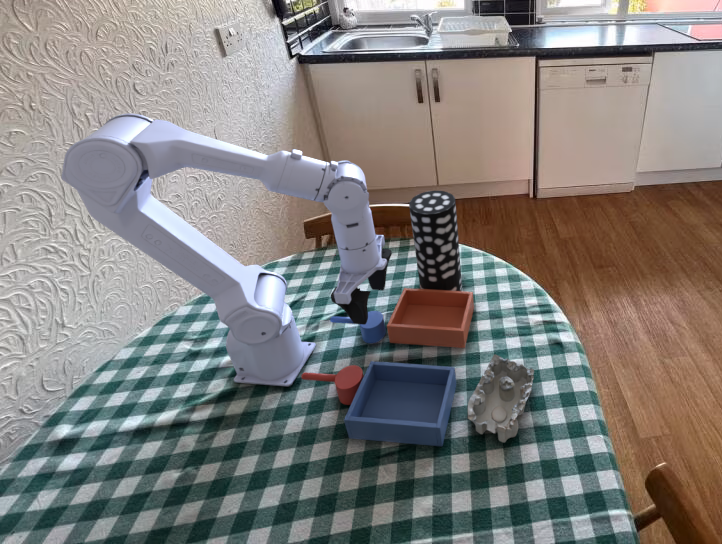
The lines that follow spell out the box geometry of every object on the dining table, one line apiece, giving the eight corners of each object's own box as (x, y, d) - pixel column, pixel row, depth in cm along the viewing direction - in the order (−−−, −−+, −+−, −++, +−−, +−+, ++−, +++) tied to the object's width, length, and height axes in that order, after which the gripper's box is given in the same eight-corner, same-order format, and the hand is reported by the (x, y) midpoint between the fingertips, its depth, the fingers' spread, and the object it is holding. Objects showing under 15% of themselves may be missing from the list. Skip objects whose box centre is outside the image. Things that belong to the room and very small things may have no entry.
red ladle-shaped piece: (299, 401, 62) (293, 385, 61) (312, 377, 66) (307, 361, 64) (360, 406, 61) (355, 390, 60) (370, 381, 65) (367, 365, 63)
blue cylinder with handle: (328, 340, 72) (324, 325, 70) (338, 322, 76) (335, 308, 74) (381, 344, 71) (377, 329, 70) (389, 326, 75) (386, 311, 73)
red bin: (389, 343, 72) (386, 326, 70) (406, 303, 80) (404, 287, 78) (464, 348, 70) (463, 331, 69) (474, 307, 79) (473, 291, 77)
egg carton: (512, 450, 56) (511, 431, 54) (463, 428, 58) (461, 409, 56) (538, 382, 64) (538, 364, 63) (494, 366, 67) (494, 348, 65)
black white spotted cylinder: (428, 271, 88) (418, 189, 79) (466, 274, 87) (460, 191, 78) (414, 299, 81) (402, 212, 72) (456, 303, 79) (448, 215, 71)
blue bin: (348, 438, 57) (343, 420, 55) (374, 378, 65) (370, 360, 64) (442, 446, 56) (440, 428, 54) (456, 384, 64) (454, 366, 63)
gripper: (361, 271, 57) (376, 341, 63) (397, 214, 70) (406, 276, 76) (313, 268, 58) (332, 338, 64) (357, 212, 71) (369, 274, 77)
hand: (370, 304), depth 70 cm, fingers open, 7 cm apart
